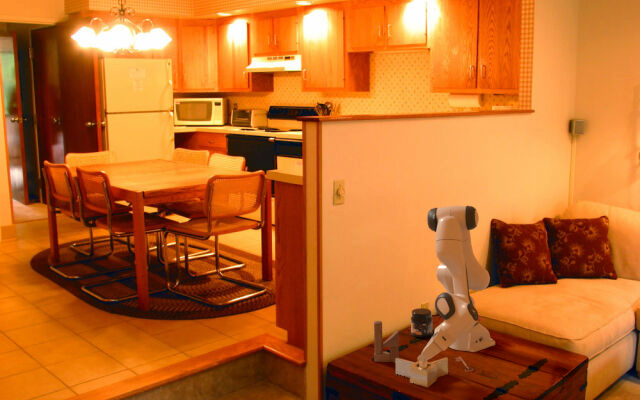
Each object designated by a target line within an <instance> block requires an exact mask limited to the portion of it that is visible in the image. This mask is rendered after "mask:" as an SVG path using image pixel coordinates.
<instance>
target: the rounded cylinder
mask: <svg viewBox="0 0 640 400" xmlns="http://www.w3.org/2000/svg"><path fill="white" fill-rule="evenodd" d="M427 362H428V360H426V359H423V360H421V361H419V367H420V368H424V369H426V368H427Z"/></svg>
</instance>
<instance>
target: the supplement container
mask: <svg viewBox="0 0 640 400" xmlns="http://www.w3.org/2000/svg"><path fill="white" fill-rule="evenodd" d="M410 327H411V329H410V334H411V335H412V337H414V338H419V339H420V338H422V339H425V338H429V337H432V336H433V334H434V333H433V316H432V311H431V309H428V308H424V307H419V308H415V309H412V310H411V316H410Z"/></svg>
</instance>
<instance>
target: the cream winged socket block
mask: <svg viewBox="0 0 640 400" xmlns="http://www.w3.org/2000/svg"><path fill="white" fill-rule="evenodd" d="M448 361H449V359H448V357H447V356H446V357H442V358H440V359H437V360H433V361H430V362H429V361H427V368H426V369H424V368H420V367H419V360H418V359H417V361H416V362H414V361H410V360H406V359H404V358H395V362H394V363H395V375H397V374H398V376H400V375H401V377H404V376H405V377H404V378H408V379H409V383H410V384H413V383H414V385H417V386H422V387H424V388H429V387H430V386H432V385H433V384H434V383H435V382H437V380H438V378H439V377H442V376H445V375H448V373H449V362H448Z"/></svg>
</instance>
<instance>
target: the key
mask: <svg viewBox="0 0 640 400" xmlns="http://www.w3.org/2000/svg"><path fill="white" fill-rule="evenodd" d="M455 359H456V360H455ZM454 360H455V362H461V363H462V364H463V365H464V367H466V368H465V369H464V371H465V372H468V373H469V372H473V371H474V370H475V369H474V368H472V367H469V366H468V365H467V363H466V362H465V361H464V359H463V358H462V356H458V357H455V358H454Z"/></svg>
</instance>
